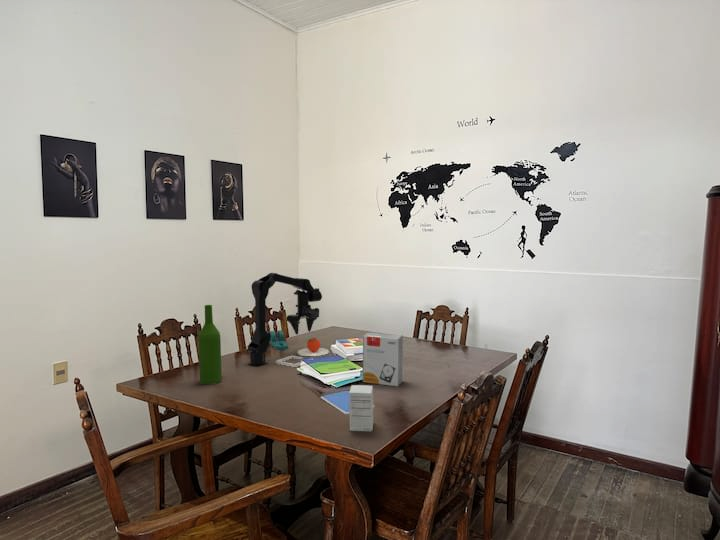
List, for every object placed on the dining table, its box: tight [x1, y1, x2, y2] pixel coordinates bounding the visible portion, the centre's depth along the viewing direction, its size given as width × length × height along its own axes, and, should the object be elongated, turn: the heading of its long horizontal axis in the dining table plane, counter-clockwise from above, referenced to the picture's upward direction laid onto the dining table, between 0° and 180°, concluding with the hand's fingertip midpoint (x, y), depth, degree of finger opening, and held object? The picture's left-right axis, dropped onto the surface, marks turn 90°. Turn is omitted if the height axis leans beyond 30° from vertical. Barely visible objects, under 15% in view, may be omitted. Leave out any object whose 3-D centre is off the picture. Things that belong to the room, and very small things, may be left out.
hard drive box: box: [362, 332, 404, 387], centre depth 199 cm, size 16×8×20 cm, turn 70°
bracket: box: [269, 329, 289, 351], centre depth 262 cm, size 18×7×8 cm, turn 24°
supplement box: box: [348, 384, 374, 432], centre depth 154 cm, size 7×7×13 cm
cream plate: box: [297, 347, 330, 357], centre depth 247 cm, size 16×16×1 cm
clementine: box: [305, 337, 321, 352], centre depth 246 cm, size 8×7×7 cm
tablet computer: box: [320, 390, 375, 415], centre depth 176 cm, size 19×13×1 cm, turn 32°
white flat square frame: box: [275, 355, 303, 368], centre depth 229 cm, size 11×12×2 cm
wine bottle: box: [197, 304, 223, 385], centre depth 201 cm, size 9×9×32 cm
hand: (303, 332), depth 246 cm, fingers open, 9 cm apart
